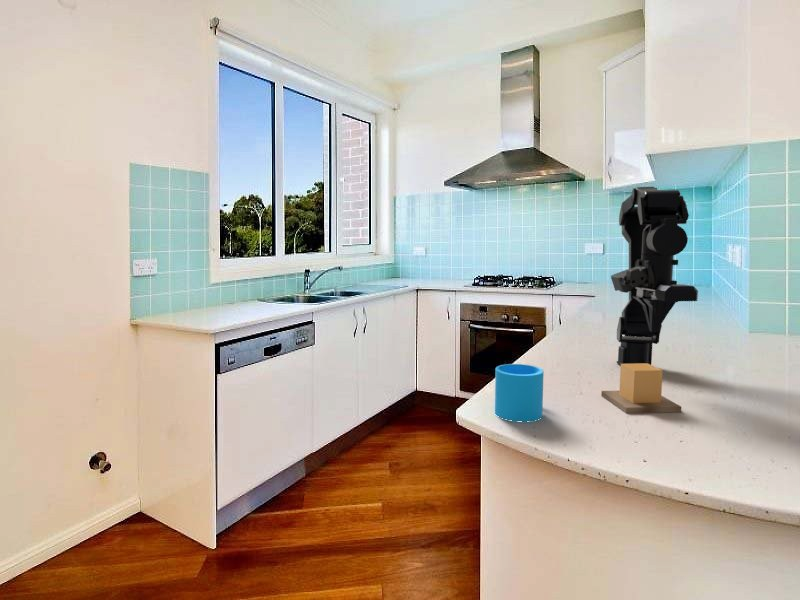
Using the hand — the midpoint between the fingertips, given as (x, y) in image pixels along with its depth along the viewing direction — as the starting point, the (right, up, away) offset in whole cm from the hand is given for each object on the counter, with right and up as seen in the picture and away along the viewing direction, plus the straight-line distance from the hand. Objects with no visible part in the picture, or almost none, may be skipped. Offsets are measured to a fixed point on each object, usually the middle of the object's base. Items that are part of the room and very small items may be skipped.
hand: (653, 331), depth 102 cm
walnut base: (-7, -13, -8) cm, 16 cm away
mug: (-29, -14, -12) cm, 34 cm away
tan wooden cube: (-7, -12, -8) cm, 16 cm away
